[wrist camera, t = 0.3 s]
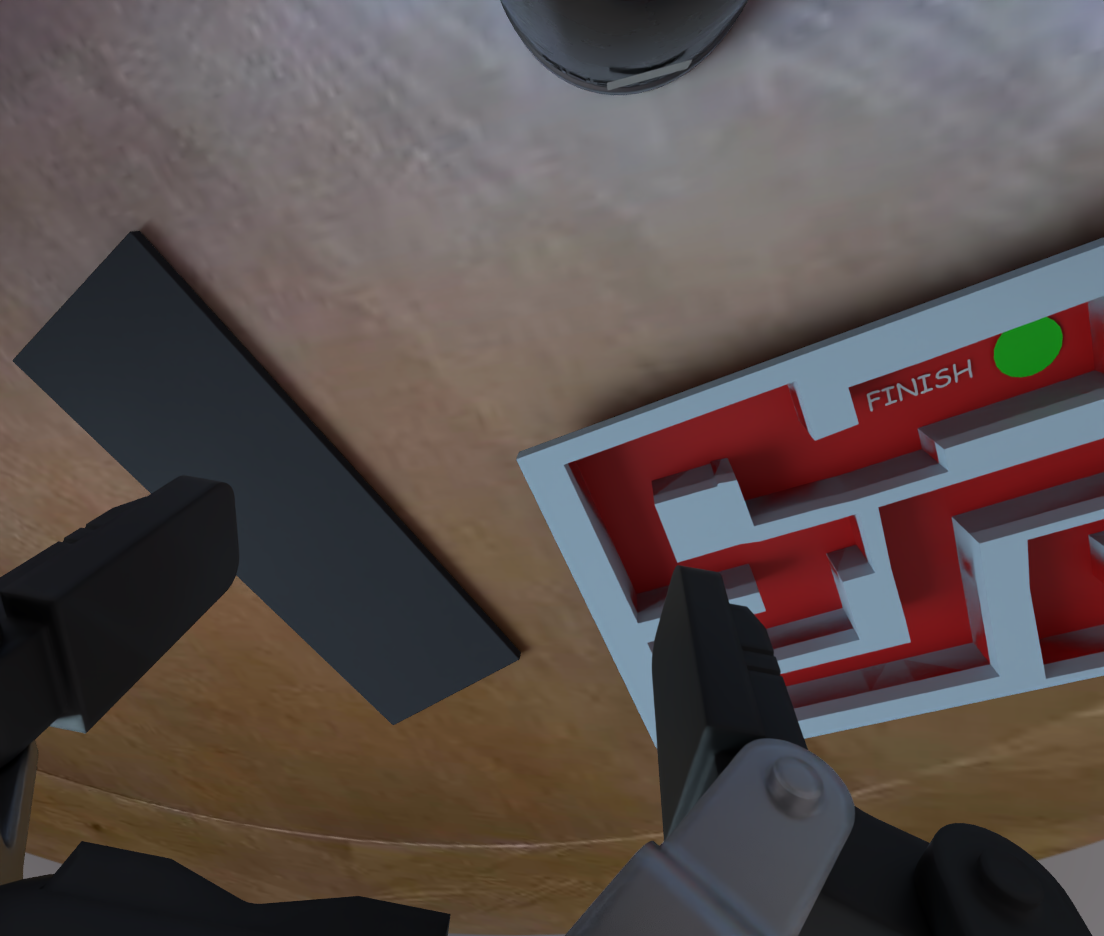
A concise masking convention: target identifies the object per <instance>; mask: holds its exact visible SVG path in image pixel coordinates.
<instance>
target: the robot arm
mask: <svg viewBox="0 0 1104 936" xmlns="http://www.w3.org/2000/svg"><path fill="white" fill-rule="evenodd" d="M500 1H501V3H502V6H503V8H504V10H505V12H506V14H507V16H508V18H509V20H510V22H511V24H512V25H513V27H514V29H515V31H516V32H517V34H518V35H519V37H520V38H521V40H522V41H523V43H524V44H525V45H526V47H527V48H528V49H529V51H530V52H531V53H532V54H533V55H534V56H535V58H536V59H537V60H538V61H539V62H541V63H542V64H543V65H544V66H545V67H546V68H547V69H548V70H550V71H551V72H552V73H553V74H555V75H556V76H558V77H559V78H561V79H563V80H564V81H566V82H568V83H570V84H572V85H574V86H576V87H578V88H581V89H584V90H587V91H591V92H595V93H600V94H608V95H629V94H637V93H642V92H646V91H650V90H653V89H656V88H659V87H661V86H664V85H666V84H668V83H670V82H672V81H674V80H676V79H678V78H679V77H681V76H683V75H684V74H686V73H687V72H689V71H690V70H691V69H693V68H694V67H695V66H697V65H698V64H699V63H700V62H701V61H702V60H703V59H705V58H706V57H707V56H708V55H709V54H710V53H711V52H712V51H713V49H714V48H715V47H716V46H717V45H718V44H719V43H720V42H721V40H722V39H723V38H724V36H725V35H726V34H727V33H728V31H729V30H730V28H731V27H732V25H733V24H734V22H735V21H736V19H737V18H738V16H739V15H740V13H741V12H742V10H743V8H744V6H745V4H746V3H747V1H748V0H500ZM238 566H239V544H238V532H237V520H236V508H235V497H234V492H233V489H232V487H231V486H230V485H229V484H228V483H225V482H220V481H215V480H209V479H204V478H198V477H192V476H187V475H182V476H179V477H177V478H175V479H174V480H172V481H171V482H169V483H167V484H166V485H164V486H163V487H161V488H160V489H158V490H156V491H155V492H153V493H152V494H150V495H149V496H147V497H143V498H140V499H137V500H135V501H132V502H129V503H126V504H123V505H120V506H117V507H114V508H112V509H110V510H109V511H107V512H105V513H104V514H102V515H101V516H99V517H97V518H96V519H94V520H92V521H91V522H89V523H88V524H86V527H85V528H79V529H78V530H76V531H75V532H73V533H71V534H70V535H68V536H67V537H65V538H64V541H63V542H59V541H58V542H57V543H55V544H54V545H52V546H50V547H49V548H47V549H46V550H44V551H42V552H41V553H39V554H37V555H36V556H34V557H33V558H31V559H29V560H28V561H26V562H24V563H23V564H21V565H20V566H18V567H16V568H15V569H13V570H12V571H10V572H8V573H7V574H5V575H3V576H2V577H0V936H448V929H449V921H450V914H447V913H442V912H437V911H432V910H427V909H422V908H417V907H412V906H406V905H401V904H396V903H391V902H386V901H381V900H376V899H371V898H366V897H361V896H353V897H341V898H328V899H316V900H304V901H291V902H279V903H267V904H253V903H248V902H246V901H243V900H241V899H239V898H238V897H236V896H234V895H233V894H231V893H229V892H227V891H226V890H224V889H222V888H220V887H219V886H217V885H215V884H214V883H212V882H210V881H208V880H207V879H205V878H203V877H202V876H200V875H198V874H196V873H195V872H193V871H191V870H189V869H188V868H186V867H184V866H183V865H181V864H179V863H177V862H176V861H174V860H172V859H169V858H164V857H159V856H154V855H149V854H144V853H139V852H134V851H129V850H124V849H119V848H114V847H109V846H104V845H99V844H94V843H89V842H83V841H81V843H80V844H79V845H78V846H77V848H76V849H75V850H74V851H73V852H72V854H71V855H70V856H69V857H68V858H67V860H66V861H65V862H64V863H63V864H62V866H61V867H60V868H59V869H58V870H57V872H56V873H55V874H49V875H43V876H38V877H32V878H27V879H23V865H24V856H25V850H26V842H27V835H28V828H29V821H30V814H31V806H32V799H33V792H34V785H35V778H36V770H37V763H38V748H37V745H36V741H35V739H36V738H37V737H38V736H39V735H40V734H41V733H42V732H43V731H44V730H45V729H47V728H48V727H49V726H51V727H56V728H62V729H67V730H72V731H77V732H82V733H87V732H88V731H89V730H90V729H91V728H92V727H93V726H94V725H95V724H96V723H97V722H98V721H99V720H100V719H101V718H102V717H103V716H104V714H105V713H106V712H107V711H108V710H109V709H110V708H111V707H112V706H113V705H114V704H115V703H116V702H117V701H118V700H119V699H120V698H121V697H122V696H123V695H124V694H125V693H126V692H127V691H128V690H129V689H130V688H131V687H132V686H133V685H134V684H135V683H136V682H137V681H138V680H139V679H140V678H141V677H142V676H143V675H144V674H145V673H146V672H147V671H148V670H149V669H150V668H151V667H152V666H153V665H154V664H155V663H156V662H157V661H158V660H159V659H160V658H161V657H162V656H163V655H164V654H165V653H166V652H167V651H168V650H169V649H170V648H171V647H172V646H173V645H174V644H175V643H176V642H177V641H178V640H179V639H180V638H181V637H182V636H183V635H184V634H185V633H186V632H187V631H188V630H189V629H190V628H191V627H192V626H193V625H194V624H195V622H196V621H197V620H198V619H199V618H200V617H201V616H202V615H203V614H204V613H205V612H206V611H207V610H208V609H209V608H210V607H211V606H212V605H213V604H214V603H215V602H216V601H217V600H218V599H219V598H220V597H221V596H222V595H223V594H224V593H225V592H226V591H227V590H228V589H229V587H230V586H231V584H232V582H233V581H234V578H235V576H236V573H237V570H238ZM780 673H781V670H780V667H779V665H778V662H777V659H776V656H774V650H773V647H772V644H771V641H770V638H769V635H768V633H767V630H766V628H765V627H764V626H763V624H762V623H761V622H760V621H759V620H758V619H757V617H756V616H755V615H754V614H753V613H752V612H751V610H750V609H749V608H748V607H747V606H741V605H736V604H730V603H729V600H728V596H727V593H726V589H725V586H724V582H723V578H722V575H721V574H720V573H719V572H715V571H709V570H703V569H698V568H692V567H687V566H681V565H677V566H676V567H675V569H674V571H673V574H672V577H671V581H670V584H669V588H668V592H667V595H666V599H665V602H664V606H663V610H662V613H661V617H660V620H659V624H658V628H657V631H656V635H655V640H654V645H653V653H652V681H653V695H654V709H655V722H656V736H657V750H658V764H659V777H660V791H661V805H662V819H663V832H664V842H663V843H662V844H661V845H660V846H659V845H657V844H656V843H655V842H654V841H650V842H648V843H647V844H645V845H644V846H643V847H642V848H641V849H640V850H639V851H638V852H637V853H636V854H635V855H634V856H633V857H632V858H631V859H630V861H629V862H628V863H627V864H626V865H625V866H624V868H623V869H622V870H621V871H620V872H619V873H618V874H617V876H616V877H615V878H614V879H613V880H612V881H611V883H610V884H609V885H608V886H607V887H606V888H605V890H604V891H603V892H602V893H601V894H600V895H599V896H598V898H597V899H596V900H595V901H594V902H593V903H592V905H591V906H590V907H589V908H588V909H587V910H586V912H585V913H584V914H583V915H582V916H581V917H580V919H579V920H578V921H577V922H576V923H575V924H574V925H573V927H572V928H571V929H570V930H569V931H568V932H567V934H566V935H565V936H1092V934H1091V933H1090V931H1089V930H1088V928H1087V926H1086V924H1085V923H1084V921H1083V919H1082V918H1081V916H1080V914H1079V913H1078V911H1077V909H1076V907H1075V906H1074V904H1073V902H1072V901H1071V899H1070V898H1069V896H1068V895H1067V893H1066V892H1065V890H1064V889H1063V888H1062V887H1061V885H1060V884H1059V883H1058V882H1057V880H1056V879H1055V878H1054V877H1053V876H1052V875H1051V874H1050V873H1049V872H1048V871H1047V870H1046V869H1045V868H1044V867H1043V866H1042V865H1041V864H1040V863H1039V862H1038V861H1037V860H1036V859H1034V858H1033V857H1032V856H1031V855H1030V854H1028V853H1027V852H1026V851H1024V850H1023V849H1022V848H1020V847H1019V846H1017V845H1016V844H1014V843H1013V842H1011V841H1010V840H1008V839H1006V838H1004V837H1002V836H1001V835H999V834H997V833H995V832H992V831H990V830H988V829H985V828H982V827H979V826H976V825H971V824H965V823H954V824H949V825H946V826H944V827H942V828H941V829H940V830H939V831H938V832H937V833H936V834H935V836H934V838H933V839H932V841H931V842H930V843H928V842H926V841H924V840H922V839H920V838H917V837H915V836H913V835H911V834H909V833H907V832H904V831H902V830H900V829H898V828H896V827H894V826H892V825H889V824H887V823H885V822H883V821H881V820H879V819H876V818H874V817H873V816H871V815H869V814H867V813H865V812H863V811H862V810H860V809H859V808H857V807H855V806H854V803H853V800H852V797H851V795H850V793H849V791H848V789H847V787H846V785H845V784H844V783H843V781H842V780H841V778H840V777H839V776H838V775H837V774H836V772H835V771H834V770H833V769H832V768H831V767H830V766H829V765H828V764H826V763H825V762H824V761H823V760H822V759H820V758H819V757H818V756H816V755H815V754H813V753H812V752H810V751H808V749H807V746H806V743H805V740H804V737H803V734H802V731H801V728H800V725H799V723H798V720H797V717H796V714H795V711H794V708H793V705H792V702H791V699H790V696H789V694H788V691H787V688H786V685H785V682H784V679H783V676H780Z"/></svg>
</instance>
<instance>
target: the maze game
mask: <svg viewBox="0 0 1104 936" xmlns="http://www.w3.org/2000/svg"><path fill="white" fill-rule="evenodd" d="M516 460H517V462H518V464H519V466H520V468H521V470H522V472H523V474H524V476H525V478H526V480H527V482H528V484H529V487H530V489H531V491H532V493H533V495H534V497H535V499H536V501H537V503H538V505H539V507H540V509H541V511H542V513H543V515H544V517H545V519H546V522H547V524H548V526H549V528H550V530H551V532H552V534H553V536H554V538H555V540H556V542H557V544H558V546H559V548H560V550H561V552H562V555H563V557H564V559H565V561H566V563H567V565H568V567H569V569H570V571H571V573H572V575H573V577H574V579H575V581H576V583H577V585H578V587H579V590H580V592H581V594H582V596H583V598H584V600H585V602H586V604H587V606H588V608H589V610H590V612H591V614H592V616H593V618H594V620H595V623H596V625H597V627H598V629H599V631H600V633H601V635H602V637H603V639H604V641H605V643H606V645H607V647H608V649H609V651H610V653H611V655H612V658H613V660H614V662H615V664H616V666H617V668H618V670H619V672H620V674H621V676H622V678H623V680H624V682H625V684H626V686H627V688H628V691H629V693H630V695H631V697H632V699H633V701H634V703H635V705H636V707H637V709H638V711H639V713H640V715H641V717H642V719H643V721H644V723H645V726H646V728H647V730H648V732H649V734H650V736H651V738H652V740H653V742H654V744H655V746H656V748H657V736H656V722H655V709H654V695H653V681H652V653H653V645H654V640H655V635H656V631H657V628H658V624H659V620H660V617H661V613H662V610H663V606H664V602H665V599H666V595H667V592H668V588H669V584H670V581H671V577H672V574H673V571H674V569H675V567H676V566H677V565H681V566H687V567H692V568H698V569H703V570H709V571H715V572H719V573H720V574H721V575H722V578H723V582H724V586H725V589H726V593H727V596H728V600H729V603H730V604H736V605H741V606H747V607H748V608H749V609H750V610H751V612H752V613H753V614H754V615H755V616H756V617H757V619H758V620H759V621H760V622H761V623H762V624H763V626H764V627H765V628H766V630H767V633H768V635H769V638H770V641H771V644H772V647H773V650H774V656H776V659H777V662H778V665H779V667H780V670H781V673H780V676H783V679H784V682H785V685H786V688H787V691H788V694H789V696H790V699H791V702H792V705H793V708H794V711H795V714H796V717H797V720H798V723H799V725H800V728H801V731H802V734H803V737H804V739H805V738H809V737H814V736H819V735H824V734H828V733H833V732H838V731H843V730H847V729H852V728H857V727H862V726H866V725H871V724H876V723H881V722H885V721H890V720H895V719H900V718H904V717H909V716H914V715H918V714H923V713H928V712H933V711H937V710H942V709H947V708H952V707H956V706H961V705H966V704H971V703H975V702H980V701H985V700H990V699H994V698H999V697H1004V696H1009V695H1013V694H1018V693H1023V692H1027V691H1032V690H1037V689H1042V688H1046V687H1051V686H1056V685H1061V684H1065V683H1070V682H1075V681H1080V680H1084V679H1089V678H1094V677H1099V676H1103V675H1104V237H1103V238H1100V239H1098V240H1095V241H1092V242H1089V243H1087V244H1084V245H1081V246H1078V247H1076V248H1073V249H1070V250H1068V251H1065V252H1062V253H1059V254H1057V255H1054V256H1051V257H1049V258H1046V259H1043V260H1040V261H1038V262H1035V263H1032V264H1029V265H1027V266H1024V267H1021V268H1019V269H1016V270H1013V271H1010V272H1008V273H1005V274H1002V275H1000V276H997V277H994V278H991V279H989V280H986V281H983V282H980V283H978V284H975V285H972V286H970V287H967V288H964V289H961V290H959V291H956V292H953V293H950V294H948V295H945V296H942V297H940V298H937V299H934V300H931V301H929V302H926V303H923V304H921V305H918V306H915V307H912V308H910V309H907V310H904V311H901V312H899V313H896V314H893V315H891V316H888V317H885V318H882V319H880V320H877V321H874V322H872V323H869V324H866V325H863V326H861V327H858V328H855V329H852V330H850V331H847V332H844V333H842V334H839V335H836V336H833V337H831V338H828V339H825V340H822V341H820V342H817V343H814V344H812V345H809V346H806V347H803V348H801V349H798V350H795V351H793V352H790V353H787V354H784V355H782V356H779V357H776V358H773V359H771V360H768V361H765V362H763V363H760V364H757V365H754V366H752V367H749V368H746V369H744V370H741V371H738V372H735V373H733V374H730V375H727V376H724V377H722V378H719V379H716V380H714V381H711V382H708V383H705V384H703V385H700V386H697V387H694V388H692V389H689V390H686V391H684V392H681V393H678V394H675V395H673V396H670V397H667V398H665V399H662V400H659V401H656V402H654V403H651V404H648V405H645V406H643V407H640V408H637V409H635V410H632V411H629V412H626V413H624V414H621V415H618V416H615V417H613V418H610V419H607V420H605V421H602V422H599V423H596V424H594V425H591V426H588V427H586V428H583V429H580V430H577V431H575V432H572V433H569V434H566V435H564V436H561V437H558V438H556V439H553V440H550V441H547V442H545V443H542V444H539V445H537V446H534V447H531V448H528V449H526V450H523V451H520V452H519V453H518V456H517V459H516Z"/></svg>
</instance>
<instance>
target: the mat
mask: <svg viewBox="0 0 1104 936" xmlns="http://www.w3.org/2000/svg"><path fill="white" fill-rule="evenodd" d="M13 362H14V363H15V364H16V365H17V366H18V367H19V368H20V369H21V370H23V371H24V372H25V373H26V374H27V375H28V376H29V377H30V378H31V379H32V380H33V381H34V382H35V383H36V384H37V385H38V386H39V387H40V388H41V389H42V390H43V391H44V392H45V393H47V394H48V395H49V396H50V397H51V398H52V399H53V400H54V401H55V402H56V403H57V404H58V405H59V406H60V407H61V408H62V409H63V410H64V411H65V412H66V413H67V414H68V415H70V416H71V417H72V418H73V419H74V420H75V421H76V422H77V423H78V424H79V425H80V426H81V427H82V428H83V429H84V430H85V431H86V432H87V433H88V434H89V435H90V436H91V437H93V438H94V439H95V440H96V441H97V442H98V443H99V444H100V445H101V446H102V447H103V448H104V449H105V450H106V451H107V452H108V453H109V454H110V455H111V456H112V457H113V458H114V459H115V460H117V461H118V462H119V463H120V464H121V465H122V466H123V467H124V468H125V469H126V470H127V471H128V472H129V473H130V474H131V475H132V476H133V477H134V478H135V479H136V480H137V481H138V482H140V483H141V484H142V485H143V486H144V487H145V488H146V489H147V490H148V491H149V492H150V493H151V494H152V493H153V492H155V491H156V490H158V489H160V488H161V487H163V486H164V485H166V484H167V483H169V482H171V481H172V480H174V479H175V478H177V477H179V476H182V475H187V476H192V477H198V478H204V479H209V480H215V481H220V482H225V483H228V484H229V485H230V486H231V487H232V489H233V492H234V497H235V508H236V520H237V532H238V544H239V566H238V570H237V573H236V575H237V576H238V577H239V578H240V579H241V580H242V581H243V582H244V583H245V584H246V585H247V586H248V587H249V588H250V589H251V590H252V591H253V592H254V593H255V594H257V595H258V596H259V597H260V598H261V599H262V600H263V601H264V602H265V603H266V604H267V605H268V606H269V607H270V608H271V609H272V610H273V611H274V612H275V613H276V614H277V615H278V616H280V617H281V618H282V619H283V620H284V621H285V622H286V623H287V624H288V625H289V626H290V627H291V628H292V629H293V630H294V631H295V632H296V633H297V634H298V635H299V636H300V637H301V638H302V639H304V640H305V641H306V642H307V643H308V644H309V645H310V646H311V647H312V648H313V649H314V650H315V651H316V652H317V653H318V654H319V655H320V656H321V657H322V658H323V659H324V660H325V661H327V662H328V663H329V664H330V665H331V666H332V667H333V668H334V669H335V670H336V671H337V672H338V673H339V674H340V675H341V676H342V677H343V678H344V679H345V680H346V681H347V682H348V683H349V684H351V685H352V686H353V687H354V688H355V689H356V690H357V691H358V692H359V693H360V694H361V695H362V696H363V697H364V698H365V699H366V700H367V701H368V702H369V703H370V704H371V705H372V706H374V707H375V708H376V709H377V710H378V711H379V712H380V713H381V714H382V715H383V716H384V717H385V718H386V719H387V720H388V721H389V722H390V723H391V724H392V725H395V724H397V723H399V722H400V721H402V720H404V719H406V718H408V717H410V716H412V715H414V714H416V713H418V712H420V711H422V710H423V709H425V708H427V707H429V706H431V705H433V704H435V703H437V702H439V701H441V700H443V699H444V698H446V697H448V696H450V695H452V694H454V693H456V692H458V691H460V690H462V689H464V688H466V687H467V686H469V685H471V684H473V683H475V682H477V681H479V680H481V679H483V678H485V677H487V676H489V675H490V674H492V673H494V672H496V671H498V670H500V669H502V668H504V667H506V666H508V665H510V664H512V663H513V662H515V661H517V660H519V659H520V654H521V652H520V651H519V650H518V649H517V648H516V647H515V646H514V644H513V643H512V642H511V641H510V640H509V639H508V638H507V637H506V636H505V635H504V633H503V632H502V631H501V630H500V629H499V628H498V627H497V626H496V625H495V623H494V622H493V621H492V620H491V619H490V618H489V617H488V616H487V615H486V614H485V612H484V611H483V610H482V609H481V608H480V607H479V606H478V605H477V604H476V602H475V601H474V600H473V599H472V598H471V597H470V596H469V595H468V594H467V592H466V591H465V590H464V589H463V588H462V587H461V586H460V585H459V584H458V583H457V581H456V580H455V579H454V578H453V577H452V576H451V575H450V574H449V573H448V571H447V570H446V569H445V568H444V567H443V566H442V565H441V564H440V563H439V562H438V560H437V559H436V558H435V557H434V556H433V555H432V554H431V553H430V552H429V550H428V549H427V548H426V547H425V546H424V545H423V544H422V543H421V542H420V541H419V539H418V538H417V537H416V536H415V535H414V534H413V533H412V532H411V531H410V529H409V528H408V527H407V526H406V525H405V524H404V523H403V522H402V521H401V520H400V518H399V517H398V516H397V515H396V514H395V513H394V512H393V511H392V510H391V508H390V507H389V506H388V505H387V504H386V503H385V502H384V501H383V500H382V499H381V497H380V496H379V495H378V494H377V493H376V492H375V491H374V490H373V489H372V487H371V486H370V485H369V484H368V483H367V482H366V481H365V480H364V479H363V478H362V476H361V475H360V474H359V473H358V472H357V471H356V470H355V469H354V468H353V466H352V465H351V464H350V463H349V462H348V461H347V460H346V459H345V458H344V457H343V455H342V454H341V453H340V452H339V451H338V450H337V449H336V448H335V447H334V445H333V444H332V443H331V442H330V441H329V440H328V439H327V438H326V437H325V435H324V434H323V433H322V432H321V431H320V430H319V429H318V428H317V427H316V426H315V424H314V423H313V422H312V421H311V420H310V419H309V418H308V417H307V416H306V414H305V413H304V412H303V411H302V410H301V409H300V408H299V407H298V406H297V405H296V403H295V402H294V401H293V400H292V399H291V398H290V397H289V396H288V395H287V393H286V392H285V391H284V390H283V389H282V388H281V387H280V386H279V385H278V384H277V382H276V381H275V380H274V379H273V378H272V377H271V376H270V375H269V374H268V372H267V371H266V370H265V369H264V368H263V367H262V366H261V365H260V364H259V363H258V361H257V360H256V359H255V358H254V357H253V356H252V355H251V354H250V353H249V351H248V350H247V349H246V348H245V347H244V346H243V345H242V344H241V343H240V342H239V340H238V339H237V338H236V337H235V336H234V335H233V334H232V333H231V332H230V330H229V329H228V328H227V327H226V326H225V325H224V324H223V323H222V322H221V321H220V319H219V318H218V317H217V316H216V315H215V314H214V313H213V312H212V311H211V309H210V308H209V307H208V306H207V305H206V304H205V303H204V302H203V301H202V299H201V298H200V297H199V296H198V295H197V294H196V293H195V292H194V291H193V290H192V288H191V287H190V286H189V285H188V284H187V283H186V282H185V281H184V280H183V278H182V277H181V276H180V275H179V274H178V273H177V272H176V271H175V270H174V269H173V267H172V266H171V265H170V264H169V263H168V262H167V261H166V260H165V259H164V257H163V256H162V255H161V254H160V253H159V252H158V251H157V250H156V249H155V248H154V246H153V245H152V244H151V243H150V242H149V241H148V240H147V239H146V238H145V236H144V235H143V234H142V233H141V232H140V231H132V232H130V233H129V234H128V235H127V236H126V237H125V238H124V239H123V240H122V241H121V242H120V243H119V245H118V246H117V247H116V248H115V249H114V250H113V251H112V252H111V253H110V254H109V255H108V257H107V258H106V259H105V260H104V261H103V262H102V263H101V264H100V265H99V266H98V268H97V269H96V270H95V271H94V272H93V273H92V274H91V275H90V276H89V277H88V278H87V280H86V281H85V282H84V283H83V284H82V285H81V286H80V287H79V288H78V289H77V290H76V292H75V293H74V294H73V295H72V296H71V297H70V298H69V299H68V300H67V301H66V302H65V304H64V305H63V306H62V307H61V308H60V309H59V310H58V311H57V312H56V313H55V314H54V316H53V317H52V318H51V319H50V320H49V321H48V322H47V323H46V324H45V325H44V327H43V328H42V329H41V330H40V331H39V332H38V333H37V334H36V335H35V336H34V337H33V339H32V340H31V341H30V342H29V343H28V344H27V345H26V346H25V347H24V348H23V349H22V351H21V352H20V353H19V354H18V355H17V356H16V357H15V358H14V359H13Z"/></svg>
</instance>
